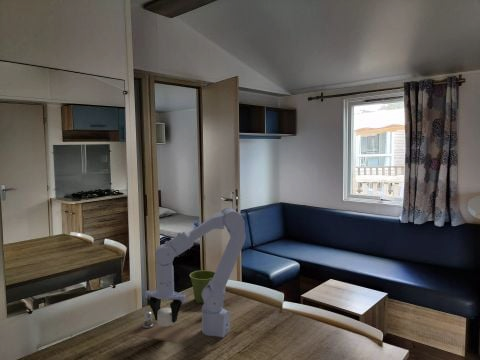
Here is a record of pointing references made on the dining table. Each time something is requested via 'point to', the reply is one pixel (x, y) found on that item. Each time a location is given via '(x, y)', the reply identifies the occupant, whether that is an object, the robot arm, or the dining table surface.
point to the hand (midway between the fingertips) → (166, 320)
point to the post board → (158, 330)
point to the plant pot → (200, 282)
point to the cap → (164, 317)
